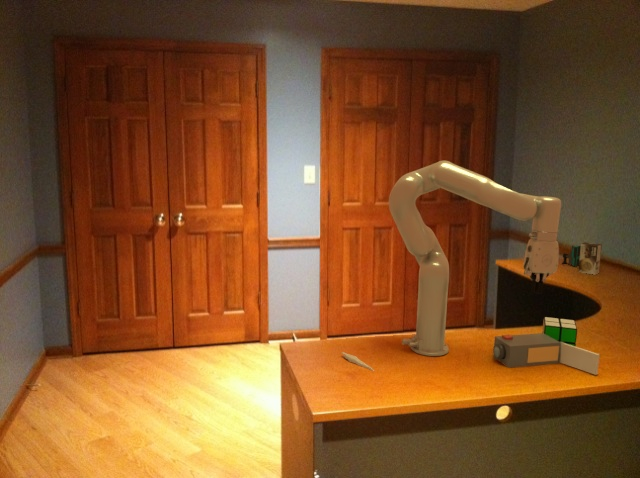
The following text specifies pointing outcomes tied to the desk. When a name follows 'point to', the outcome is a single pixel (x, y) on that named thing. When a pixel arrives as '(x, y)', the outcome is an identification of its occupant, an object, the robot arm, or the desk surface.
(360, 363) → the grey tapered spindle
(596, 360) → the side door
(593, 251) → the coffee box
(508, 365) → the camera box
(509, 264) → the desk surface
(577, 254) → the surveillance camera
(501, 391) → the desk surface
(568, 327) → the puzzle cube
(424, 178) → the robot arm
